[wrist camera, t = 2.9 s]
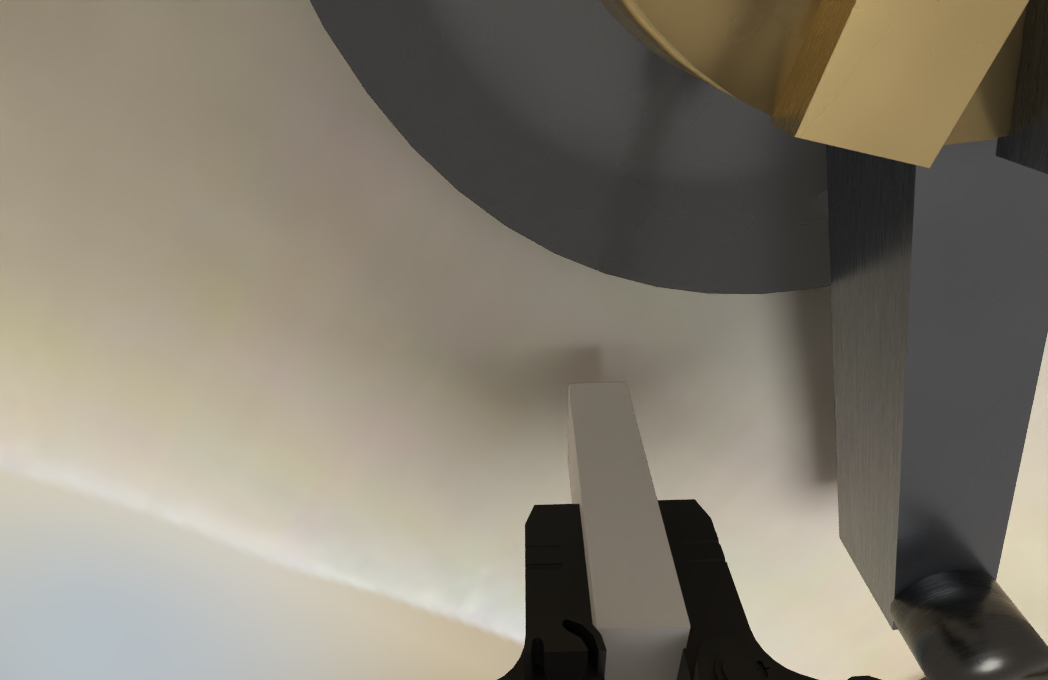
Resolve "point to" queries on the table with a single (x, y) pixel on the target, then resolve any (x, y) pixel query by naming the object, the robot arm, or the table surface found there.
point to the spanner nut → (913, 277)
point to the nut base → (593, 141)
